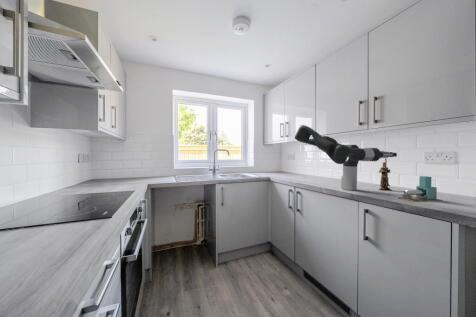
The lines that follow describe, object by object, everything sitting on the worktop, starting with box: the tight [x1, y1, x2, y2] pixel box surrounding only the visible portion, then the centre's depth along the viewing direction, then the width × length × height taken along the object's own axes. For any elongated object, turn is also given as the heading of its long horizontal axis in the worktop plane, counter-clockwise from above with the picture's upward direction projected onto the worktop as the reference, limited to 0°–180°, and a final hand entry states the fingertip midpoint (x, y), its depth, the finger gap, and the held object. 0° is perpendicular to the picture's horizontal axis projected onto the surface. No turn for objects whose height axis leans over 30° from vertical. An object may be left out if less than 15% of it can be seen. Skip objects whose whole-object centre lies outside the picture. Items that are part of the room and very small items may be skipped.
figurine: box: [378, 158, 392, 192], centre depth 142 cm, size 6×10×25 cm
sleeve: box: [415, 175, 434, 199], centre depth 111 cm, size 4×6×12 cm, turn 7°
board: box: [397, 196, 443, 202], centre depth 111 cm, size 20×8×1 cm, turn 97°
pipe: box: [401, 186, 438, 200], centre depth 111 cm, size 18×4×7 cm, turn 97°
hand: (395, 154), depth 109 cm, fingers closed
